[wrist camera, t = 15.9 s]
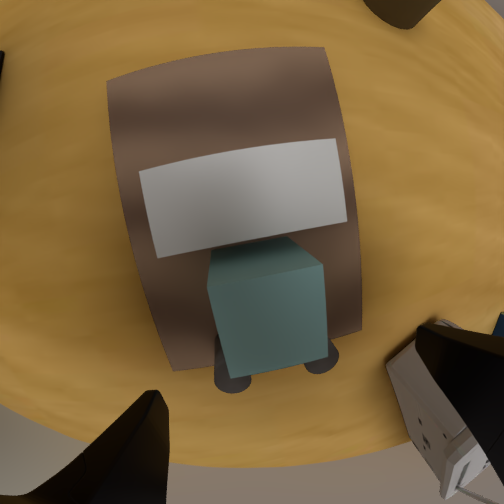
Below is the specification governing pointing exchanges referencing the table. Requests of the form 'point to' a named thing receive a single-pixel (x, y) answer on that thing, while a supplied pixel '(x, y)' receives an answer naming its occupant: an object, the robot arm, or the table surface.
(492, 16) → the table surface
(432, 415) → the stereo radio cassette player
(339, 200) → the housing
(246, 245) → the block
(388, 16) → the olive pepper mill
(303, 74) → the board
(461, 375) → the robot arm
